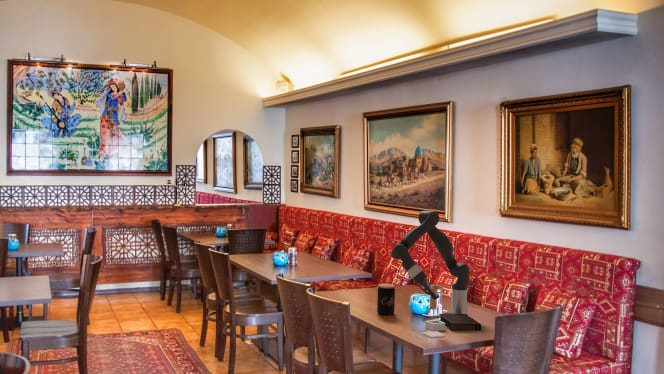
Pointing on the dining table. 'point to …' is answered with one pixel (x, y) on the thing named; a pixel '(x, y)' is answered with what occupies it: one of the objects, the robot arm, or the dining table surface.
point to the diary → (459, 322)
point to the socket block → (435, 325)
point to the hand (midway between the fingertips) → (437, 298)
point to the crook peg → (434, 288)
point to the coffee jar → (386, 299)
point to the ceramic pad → (433, 334)
